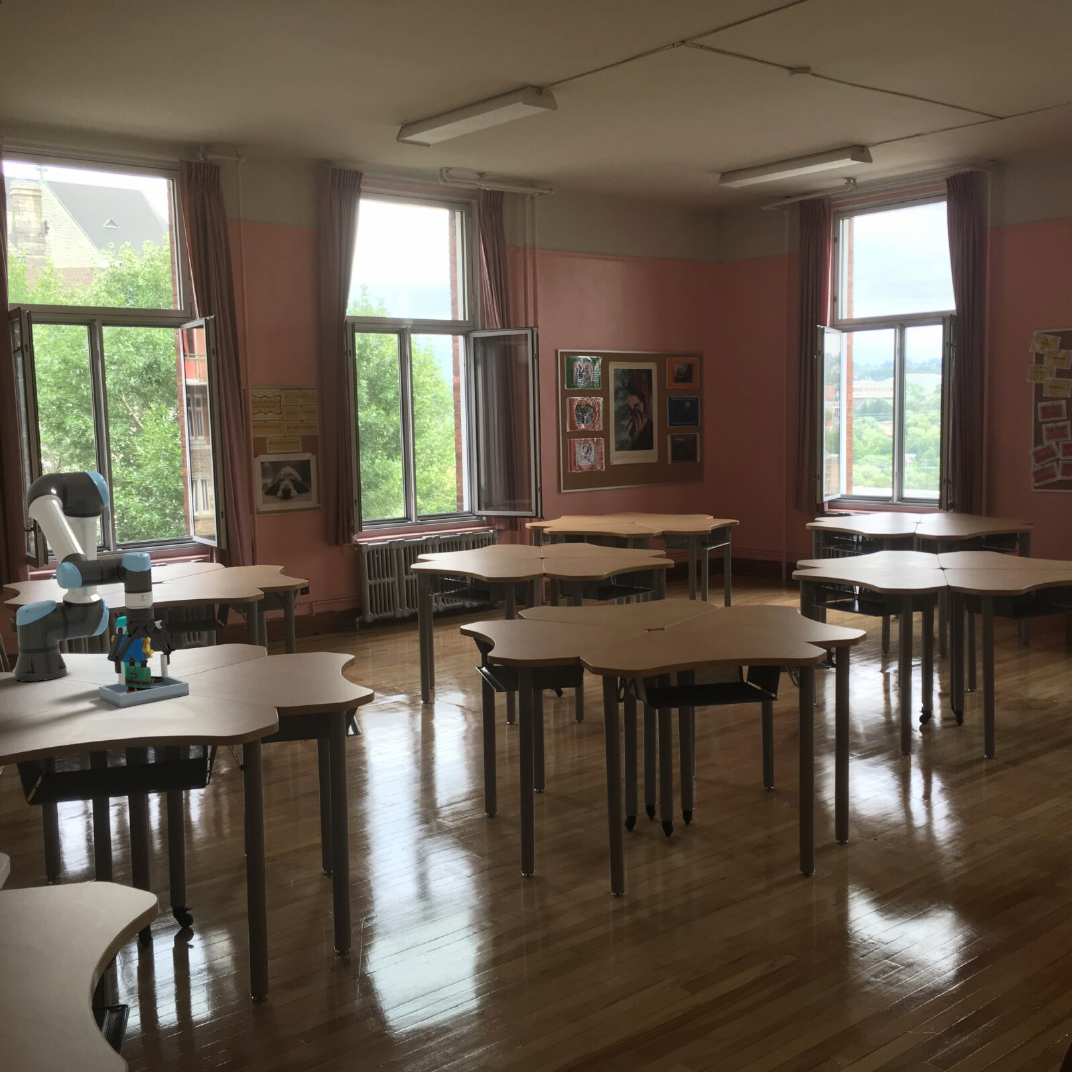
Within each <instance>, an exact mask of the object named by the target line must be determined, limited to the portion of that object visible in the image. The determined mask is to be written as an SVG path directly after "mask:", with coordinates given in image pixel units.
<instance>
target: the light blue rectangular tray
mask: <svg viewBox="0 0 1072 1072" xmlns="http://www.w3.org/2000/svg"><path fill="white" fill-rule="evenodd" d="M158 676H159V677H163V676H161V675H158ZM163 678H164V682H161V683H155V685H154V683H152V684H153V685H152V684H151V687H150V688H152V687H159V688H154V689H148V690H143V691H137V692H132V693H127V694H126V691H127V690H128V686H126V682H125V685H121V684H119V683H114V684H106V685H102V686H101V685H100V686H98V690H99V699H100V700H102V701H104V702H106V703H109V704H111V705H114V706H116V707H118V708H120V709H123V708H127V707H133V706H132V705H134V706H138V705H143V704H142V703H144V704H147V703H153V702H152V701H154V702H159V701H163V700H162V699H164V700H168V699H173V698H172V697H174V698H178V696H180V697H183V695H185V696H188V695H190V690H189V689H190V688H189V687H190V685H189V682H187V681H184V680H182V679H179V678H176V677H173V676H170V675H168V677H163ZM151 680H152V679H151ZM135 689H136V687H135Z"/></svg>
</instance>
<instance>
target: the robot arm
mask: <svg viewBox="0 0 1072 1072" xmlns="http://www.w3.org/2000/svg"><path fill="white" fill-rule="evenodd" d="M25 497H26V498H25V505H26V509H27V512H28V513H29V515H30V517H31V518H32V519H34V520H35V521H37V523H38V525H39V527H40V529H41V531H42V533H43V536H45V538H46V541H47V543H48V546H49V547H50V549H51V551H52V553H53V555H54V557H55V559H56V561H57V563H58V564H57V565H56V567H55V577H56V582H57V585H58V587H60V588H61V589H63V590H67V592H66V593H65V594H64V595H63V596H62V603H57V601H55V600H54V599H53V600H51V599H50V600H41V601H35V602H30V603H27V604H25V605H23V606H21V607H19V608H18V609H17V610H16V622H15V624H16V631H17V645H18V657H17V661H16V664H15V668H14V672H13V675H14V676H13V677H14V678H15V679H17V680H21V681H20V682H23V681H33V682H40V681H39V680H44V681H46V680H45V679H51V680H54V679H55V678H56V679H59V677H60V678H63V677H65V676H66V675H68V670H67V665H66V662H65V660H64V658H63V655H62V653H61V651H60V642H61V641H67V640H74V639H81V638H91V637H94V636H99V635H101V634H103V633H104V632H105V630H106V629H107V626H108V623H109V616H110V611H109V606H108V602H107V601H106V599H103V597H102V595H101V594H100V593H99V592H98V591H97V590H98V589H97V587H98V586H106V585H116V584H123V588H124V591H123V592H124V606H125V616H126V622H127V624H126V626H124V627H119V626H115V627H114V629H115V631H114V633H115V635H114V636H115V637H114V640H113V643H112V642H111V646H110V649H109V652H108V655H107V658H106V659H107V661H109V662H114V672H115V674H117V675H118V681H119V684H121V685H125V669H124V662H122V659H123V657H124V656H125V654H126V652H127V651H128V649H129V648H130V646H131V644H132V643H133V642H134V641H135V639H137V640H138V639H141V638H148V637H149V638H150V639H151V641H152V642H153V644H154V645H155V646H157V648H158V649H159V650H160V651H161V653H160V654H159V655H160V658H159V659H160V672H161V673H160V674H161V675H160V676H163V677H168V676H169V673H168V666H169V665H170V664H171V660H170V659H171V658H170V655H171V654H172V652H175V651H176V649H177V648H176V646H175V644H174V643H173V640H172V639H171V636H170V633H169V632H168V629H167V628H166V621H164V620H161V619H158V620H157V621H155V620H154V619H155V613H154V606H152V605H153V604H154V598H153V582H152V581H153V579H152V575H153V574H152V562H151V556H150V553H148V552H145V551H143V552H142V551H136V552H134V551H133V552H127V553H125V554H123V555H116V556H112V557H111V558H109V557H108V558H102V559H101V558H100V559H97V558H98V554H97V553H98V538H97V537H98V536H97V535H98V525H97V522H98V519H99V518H100V517H102V515H103V509H105V508H108V506H109V503H110V493H109V488H108V486H107V482H106V480H105V478H104V477H103V475H102V474H100V473H99V472H97V471H83V470H82V471H70V472H59V473H58V472H52V473H51V472H50V473H46V474H43V475H41V476H40V477H37V478H36V479H35V480H34V481H33V482H32V483H31V485H30V486H29V488H28V490H27V492H26V496H25ZM126 606H127V608H126ZM155 628H157V629H158V630H159V633H160V635H161V637H162V639H163V642H164V643H163V642H162V641H161V639H160V638H159V637H158V636H157V634H156V633H155V632H154V629H155ZM125 631H127V632H128V635H127V637H126V640H125V641H124V643H123V645H122V646H121V648H120V649H119V646H120V643H121V640H122V637H123V634H124V633H125ZM118 649H119V651H118ZM117 652H118V653H117ZM15 679H14V680H15ZM56 679H55V680H56ZM17 680H16V681H17ZM22 680H23V681H22Z"/></svg>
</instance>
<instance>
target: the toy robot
mask: <svg viewBox="0 0 1072 1072" xmlns="http://www.w3.org/2000/svg"><path fill="white" fill-rule="evenodd" d="M126 608H128V607H127V606H125V609H126ZM126 624H127V622H126V615H125V616H120V617H118V618H116V622H115V625H114V626H115V627H116V626H119V627H124V626H126ZM127 635H128V632H127V631H125V633H124V634H123V637H122V640H121V643H120V646H119V649H120V648H121V646H122V645H123V643H124V641H125V640H126V637H127ZM114 637H115V635H112V636H111V639H110V640H111V644H112V643H113V640H114ZM151 641H152V640H151V639H150V638H149V637H148V638H141V639H138V640H137V639H135V641H134V642H133V643H132V644H131V646H130V648H129V649H128V651H127V652H126V654H125V656H124V657H123V659H122V662H124V669H125V679H126V668H127V666H129V662H128V658H135V659H136V662H135V665H136V666H138V667H141V663H140V661H142V660H148V659H153V658H154V656H153V654H155V651H154V649H151ZM119 649H118V651H119ZM117 653H118V652H117ZM118 683H119V680H118Z"/></svg>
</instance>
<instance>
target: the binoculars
mask: <svg viewBox="0 0 1072 1072" xmlns="http://www.w3.org/2000/svg"><path fill="white" fill-rule="evenodd" d="M128 662H129V666H127V668H126V679H125V682H126V686H128V690H127V691H126V694H127V693H132V692H137V691H143V690H148V689H154V688H159V687H152V688H150V687H151V684H152V683H154V685H155V683H161V682H164V678H163V677H159V676H160V675H158V676H156V675H152V671H151V669H152V668H151V666H148V659H146V660H142V661H140V663H141V667H138V666H136V665H135V662H136V659H135V658H128ZM151 679H152V680H151ZM152 685H153V684H152ZM135 687H136V689H135Z"/></svg>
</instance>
